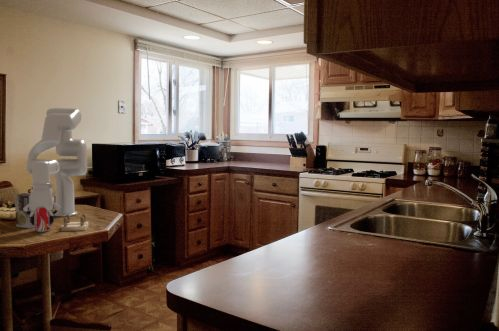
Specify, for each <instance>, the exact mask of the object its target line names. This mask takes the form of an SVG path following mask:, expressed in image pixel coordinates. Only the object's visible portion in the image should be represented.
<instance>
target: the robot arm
mask: <svg viewBox="0 0 499 331" xmlns="http://www.w3.org/2000/svg"><path fill="white" fill-rule="evenodd" d="M45 114H46V116H45V117H44V122H43V123H44V124H43V128H42V133H41V134H42V135H41V139H40V140H39V141H38V142H37V143H35V144H34V145H33V146H32V147H31V149H30V150H29V152H28V156H27V161H26V171H27V172H28V173H29V174H30V175H31V179H32V180H31V181H32V189H31V191H30V193H31V194H30V203H29V204H28V205H27V206H25V207H24V208H23V210H24V211H25V212H26V213H27V214H28V215H29V216H30V217H31V223H32V225H34V211H35V210H36V209H37V207H45V208H46V209H47V210H48V211H49V213H50V224H51V225H52V224H54V222H55V217H66V215H68V214H69V215H70V217H71V216H76V215H78V211H77V210H75V182H74V180H73V179H72V178H71V177H70V176H73V177H74V176H75V177H76V176H77V177H78V176H85V175H86V174H87V172H88V153H87V152H88V150H87V143H86V142H85V141H84V140H83V139H78V138H76V139H73V135H72V134H73V133H72V131H73V130H75V129H76V128H77V127H78V125H79V124H80V123H81V121H82V113H81V111H80V110H79V109H78V108H72V107H71V108H65V107H63V108H62V107H52V108H49V109H47V110H46V113H45ZM52 148H55V153H56V154H57V156H61V157H76V158H59V159H53V158H52V159H50V158H49V159H47V158H42V159H41V158H38V157H39V155H40V154H42V153H43V152H45V151H47V150H50V149H52ZM52 175H53V176H54V179H55V186H54V184H52V183H51V176H52ZM54 187H55V195H54V190H53V189H52V188H54ZM54 196H55V197H54ZM28 207H30V210H31V211H32V212H30V211H29V210H28ZM53 209H55V210H53Z"/></svg>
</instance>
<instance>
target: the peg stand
mask: <svg viewBox="0 0 499 331" xmlns="http://www.w3.org/2000/svg"><path fill="white" fill-rule="evenodd" d="M79 219H80V221H71V216H70V215H69V214H68V215H66V216H65V217H63V224H62V225H61V227H60V231H61V232H77V231H87V229H88V227H89V220H88V221H87V213H82V216H81V217H80V218H79Z"/></svg>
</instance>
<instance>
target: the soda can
mask: <svg viewBox="0 0 499 331" xmlns="http://www.w3.org/2000/svg"><path fill="white" fill-rule="evenodd" d="M51 226H52V224H50V213H49V211H48V210H47V209H46V208H45V207H37V209H36V210H35V211H34V227H33V228H34V231H35V232H37V233H47V232H49V231H50V230H51V228H52V227H51Z"/></svg>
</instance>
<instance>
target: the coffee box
mask: <svg viewBox="0 0 499 331" xmlns="http://www.w3.org/2000/svg"><path fill="white" fill-rule="evenodd" d="M30 194H31V192H30V193H28V192H22V193H19V194H15V195H14V204H15V206H14V207H15V227H16V228H24V229H32V228H34V225H32V223H31V217H30V216H29V215H28V214H27V213H26V212H25V211H24V210H23V208H24V207H25V206H27V205H28V204H29V203H30ZM28 210H29V211H30V212H32V211H31V210H30V207H28Z"/></svg>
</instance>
